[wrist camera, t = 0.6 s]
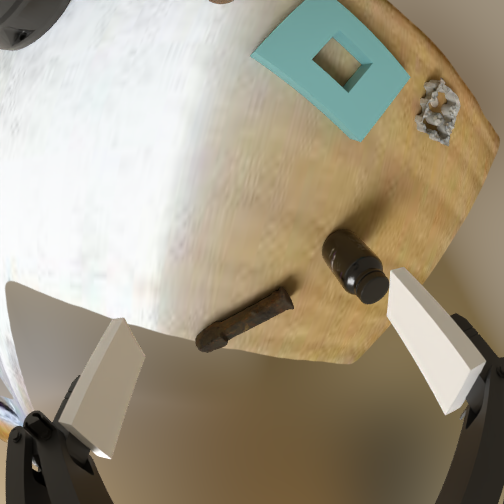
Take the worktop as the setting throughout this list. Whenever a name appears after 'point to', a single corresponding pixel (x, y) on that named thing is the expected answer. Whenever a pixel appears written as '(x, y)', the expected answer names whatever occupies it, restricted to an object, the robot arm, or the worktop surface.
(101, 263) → the worktop surface
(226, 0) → the walnut pin
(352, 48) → the teal square-hole block
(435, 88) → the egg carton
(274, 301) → the dark brown wooden rod
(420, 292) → the robot arm
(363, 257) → the supplement bottle
